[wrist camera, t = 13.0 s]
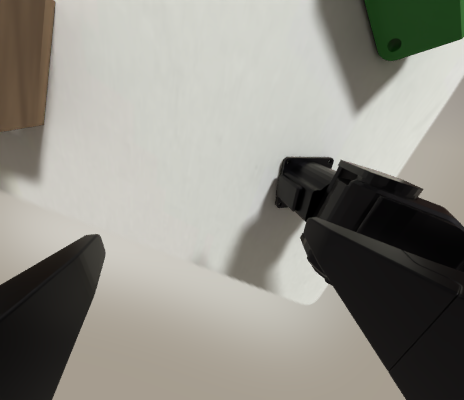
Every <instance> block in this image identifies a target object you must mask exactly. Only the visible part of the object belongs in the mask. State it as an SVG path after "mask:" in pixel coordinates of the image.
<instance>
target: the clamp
mask: <svg viewBox="0 0 464 400" xmlns="http://www.w3.org/2000/svg"><path fill="white" fill-rule="evenodd" d="M364 1H365V5H366V9H367V13H368V16H369V20H370V24H371V28H372V31H373V35H374V39H375V43H376V47H377V50H378V53H379V55H380V57H382V58H383V59H385V60H388V61H395V60H398V59H402V58H405V57H408V56H411V55H414V54H417V53H420V52H423V51H426V50H429V49H432V48H436V47H439V46H442V45H445V44H448V43H451V42H454V41H457V40H460V39H462V38H463V37H464V0H364Z"/></svg>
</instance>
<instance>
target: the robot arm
mask: <svg viewBox="0 0 464 400" xmlns="http://www.w3.org/2000/svg"><path fill="white" fill-rule="evenodd" d="M288 160H289V162H288V163H287V161H288ZM329 160H330V161H329ZM328 161H329V163H328ZM333 161H334V160H333V158H330V157H286V158H285V159H284V160H283V165H282V170H281V175H280V176H279V181H278V186H277V191H276V195H277V197H276V202H275V205H276V206H277V207H278V208H285V207H289V208H290V209H291V210H292V211H295V212H296V213H297V214H298V215H299V216H300V217H301V218H302V219H303V220H304V221H305V222H306V225H305V229H304V233H302V235H301V237H300V239H301V241H302V244H303V246H304V249H305V251H306V254H307V259H308V261H309V263H310V264H311V265H312V267H313V268H314V270H315V271H316V272H317V273H318V274H319V275H321V276H322V277H323V278H324V279H325V281H326V282H327V283H328V284H331V285H332V286H333V287H334V288H335V290H336V292H337V293H338V295H339V296H340V298H341V299H342V301H343V302H344V304H345V305H346V307H347V309H348V310H349V312H350V313H351V315H352V316H353V318H354V319H355V321H356V323H357V324H358V325H359V327H360V329H361V330H362V332H363V333H364V335H365V336H366V338H367V339H368V341H369V343H370V344H371V346H372V347H373V349H374V350H375V352H376V353H377V355H378V356H379V358H380V360H381V361H382V363H383V364H384V366H385V367H386V369H387V370H388V371H389V374H390V375H391V377H392V379H393V380H394V382H395V383H396V385H397V386H398V388H399V389H400V391H401V393H402V394H403V396H404V397H405V399H406V400H464V227H463V226H462V225H461V224H460V223H459V221H458V220H457V219H456V218H454V216H453V215H452V214H451V213H449V211H448V210H446V209H445V208H444V207H442V206H440V205H437V204H434V203H431V202H429V201H427V200H424V199H421V198H419V197H418V196H419V194H420V193H421V192H422V191H423V189H422V188H420V187H418V186H415V185H413V184H411V183H409V182H407V181H404V180H402V179H399V178H396V177H394V176H391V175H388V174H385V173H382V172H379V171H376V170H373V169H369V168H366V167H363V166H360V165H356V164H353V163H350V162H346V161H343V160H341V161H340V163H339V165H338V166H339V167H338V169H337V171H334V170H332V169H331V168H332V165H333ZM279 203H280V204H279ZM278 204H279V205H278ZM104 259H105V249H104V245H103V242H102V239H101V237H100V235H98V234H93V235H86V236H84V237H82V238H80V239H79V240H77V241H75V242H73V243H72V244H70V245H68V246H66V247H65V248H63V249H61V250H60V251H58V252H56V253H55V254H53V255H51V256H49V257H48V258H46V259H44V260H42V261H41V262H39V263H37V264H36V265H34V266H32V267H31V268H29V269H27V270H25V271H24V272H22V273H20V274H18V275H17V276H15V277H13V278H12V279H10V280H8V281H6V282H5V283H3V284H1V285H0V400H52V398H53V396H54V393H55V391H56V389H57V386H58V384H59V381H60V379H61V376H62V374H63V371H64V369H65V366H66V364H67V361H68V359H69V356H70V354H71V352H72V349H73V347H74V344H75V342H76V339H77V337H78V334H79V332H80V329H81V327H82V325H83V322H84V320H85V317H86V315H87V312H88V310H89V307H90V305H91V302H92V300H93V297H94V294H95V291H96V288H97V284H98V281H99V277H100V273H101V269H102V266H103V263H104Z"/></svg>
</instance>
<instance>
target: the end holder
mask: <svg viewBox="0 0 464 400" xmlns="http://www.w3.org/2000/svg"><path fill="white" fill-rule="evenodd" d="M54 9H55V1H53V0H0V132H3V131H9V130H16V129H22V128H28V127H34V126H40V125H44V115H45V104H46V94H47V83H48V73H49V62H50V52H51V41H52V30H53V20H54Z"/></svg>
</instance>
